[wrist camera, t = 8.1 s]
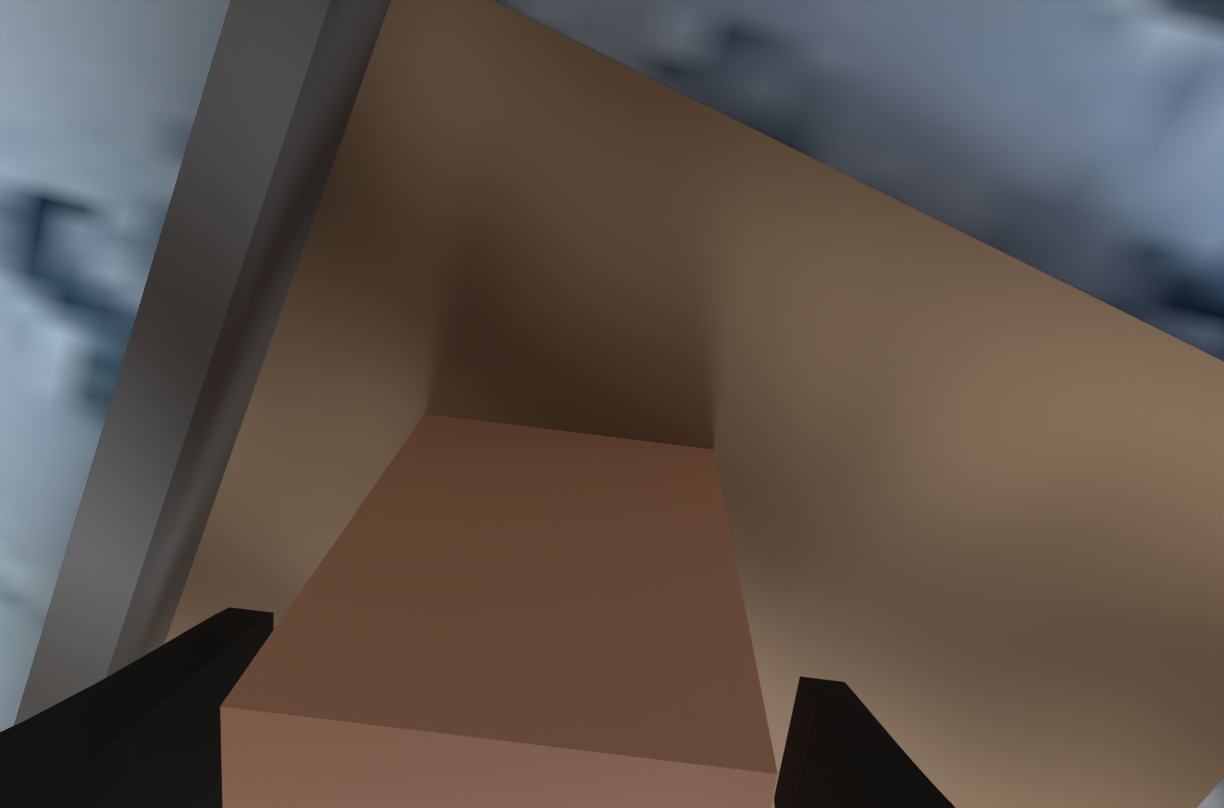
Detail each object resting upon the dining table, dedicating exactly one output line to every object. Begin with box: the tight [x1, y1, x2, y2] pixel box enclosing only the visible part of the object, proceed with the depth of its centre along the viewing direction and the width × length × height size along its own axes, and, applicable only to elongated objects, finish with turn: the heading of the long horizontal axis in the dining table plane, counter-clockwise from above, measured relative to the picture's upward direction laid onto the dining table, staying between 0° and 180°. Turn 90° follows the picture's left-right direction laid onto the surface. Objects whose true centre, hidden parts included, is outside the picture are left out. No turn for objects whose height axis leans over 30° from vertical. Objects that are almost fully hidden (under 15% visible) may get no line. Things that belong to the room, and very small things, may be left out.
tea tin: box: [220, 414, 778, 808], centre depth 12 cm, size 4×6×7 cm
